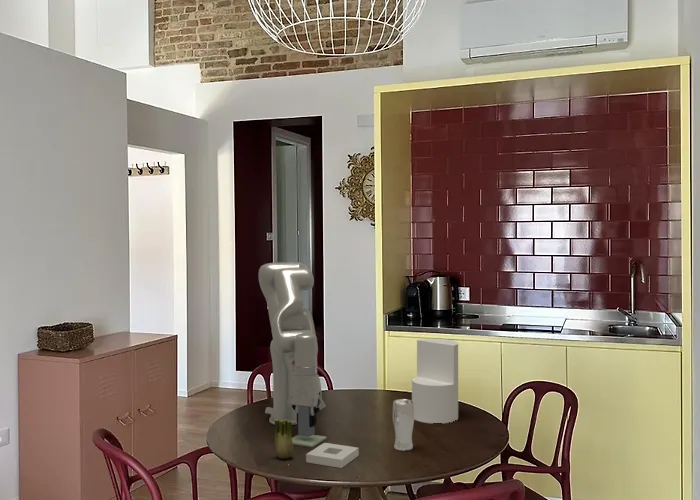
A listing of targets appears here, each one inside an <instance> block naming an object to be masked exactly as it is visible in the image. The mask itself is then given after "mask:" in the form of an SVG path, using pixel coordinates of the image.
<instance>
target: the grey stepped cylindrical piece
mask: <svg viewBox="0 0 700 500" xmlns="http://www.w3.org/2000/svg"><path fill="white" fill-rule="evenodd" d="M411 400H412V401H413V402H414V421H418V422H420V423H425V424H433V423H442V424H450V423H453V421H454V422H456V421H457V420H458V419H459V342H458V341H455V340H452V339H451V340H450V339H445V338H444V339H442V338H425V339H423V338H422V339H416V377H415V376H414V377H413V378H412V379H411ZM455 420H456V421H455ZM449 422H450V423H449Z"/></svg>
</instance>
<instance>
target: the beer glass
mask: <svg viewBox="0 0 700 500" xmlns="http://www.w3.org/2000/svg"><path fill="white" fill-rule="evenodd" d="M414 422H415V419H414V402H413V401H412V399H407V398H400V399H395V400H393V403H392V423H393V427H394V434H395V436H394V437H395V441H394V446H393V448H394V449H395V450H397V451H404V452H405V451H406V450H407V451H411V450H413V448H414V445H413V429H414V424H415V423H414ZM407 451H406V452H407Z"/></svg>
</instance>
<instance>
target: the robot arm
mask: <svg viewBox="0 0 700 500" xmlns="http://www.w3.org/2000/svg"><path fill="white" fill-rule="evenodd" d="M258 282H259V286H260V289H261V292H262V294H263V296H264V298H265V301H266V304H267V311H268V317H269V322H270V328H271V334H272V340H271V342H270V345H269V346H270V347H269V349H270V355H271V361H272V384H273V385H272V386H273V389H272V393H273V394H272V395H273V397H272V399H273V400H272V401H273V407H270V406H267V407H266V408H265V411H264V413H265V414H266V415H267V414H268V415H270V416H269V423H270V424H272V425H275V420H276V419H278V420H284V422H285V419H287V420H288V421H291V422H292V426H294V425H297V426H298V406H306V407H310V412H311V415H310V427H313V426H316V424H317V414H318V413H319V411H321V410H322V409H324V408H326V403H325V401H324V400H323V397H322V394H323V393H322V383H321V378H320V375H319V374H318V352H319V345H318V338H317V336H316V335H317V334H316V330H315V328H316V327H315V323H314V319H313V315H312V313H311V312H310V310H309V309H307V308H304V300H303V297H302V292H301V291H310V290H312V289H313V287H314V284H315V283H314V282H315V279H314V275H313V272H312V270H311V268H309V266H307V265H306V264H304V263H303V262H299V261H297V262H296V261H290V262H270V263H264V264H263V265H260V268H259V269H258ZM293 362H294V364H293ZM317 405H318V406H317Z"/></svg>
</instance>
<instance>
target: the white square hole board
mask: <svg viewBox="0 0 700 500" xmlns="http://www.w3.org/2000/svg"><path fill="white" fill-rule="evenodd" d="M359 449H360V448H359V447H355V446H351V445H344V444H343V445H341V444H335V443H331V442H323V443H321V444H320V445H318V446H316V447H315V448H314V449H312V450H310V451H309V452H307V453H306V454H305V462H306V463H309V464H315V465H320V466H326V467H334V468H339V469H343V468H344V467H345V466H347V465H348V464H349V463H351V462H352V461H353V460H355V459H357V458H358V457H359V455H360V454H359V453H360V451H359Z"/></svg>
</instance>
